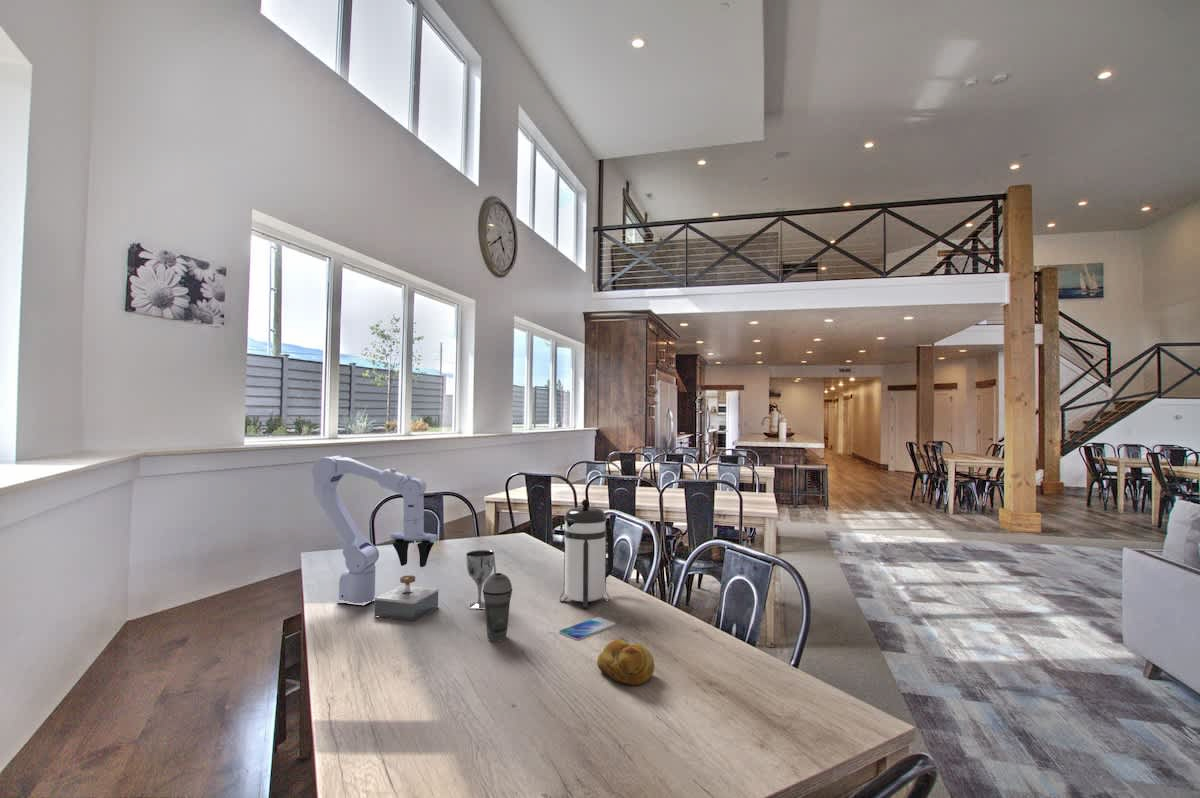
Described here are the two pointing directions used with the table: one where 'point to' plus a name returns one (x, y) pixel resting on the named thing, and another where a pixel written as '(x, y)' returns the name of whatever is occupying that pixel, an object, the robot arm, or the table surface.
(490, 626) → the beverage cup
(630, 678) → the bread roll
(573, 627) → the smartphone
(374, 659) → the table surface
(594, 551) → the coffee press
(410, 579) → the brass door knob
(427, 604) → the press
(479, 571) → the wine glass
